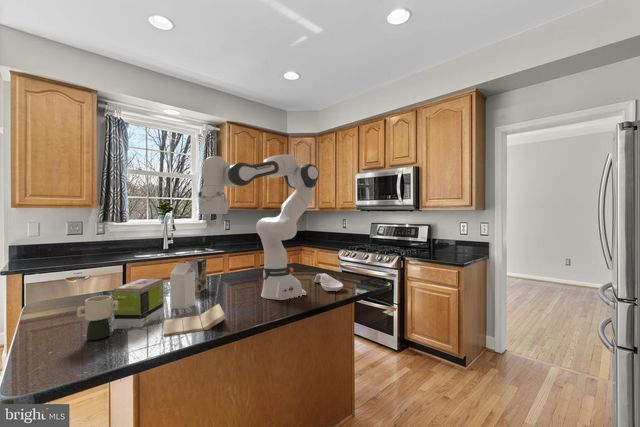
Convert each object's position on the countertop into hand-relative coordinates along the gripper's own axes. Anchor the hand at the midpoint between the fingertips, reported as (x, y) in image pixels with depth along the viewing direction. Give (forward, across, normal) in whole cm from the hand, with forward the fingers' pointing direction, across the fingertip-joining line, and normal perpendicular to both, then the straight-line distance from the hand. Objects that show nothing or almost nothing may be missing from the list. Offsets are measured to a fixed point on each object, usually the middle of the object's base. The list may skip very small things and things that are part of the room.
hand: (213, 224), depth 132 cm
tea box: (+36, +2, +28) cm, 46 cm away
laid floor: (+36, -16, +19) cm, 44 cm away
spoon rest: (+36, -13, -59) cm, 71 cm away
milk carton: (+36, +8, +10) cm, 38 cm away
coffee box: (+36, +31, -7) cm, 48 cm away
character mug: (+36, -5, +42) cm, 56 cm away
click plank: (+34, -19, +9) cm, 41 cm away
